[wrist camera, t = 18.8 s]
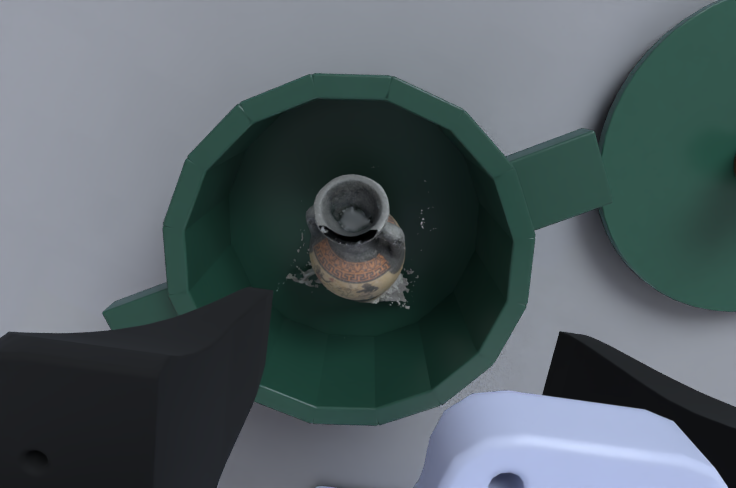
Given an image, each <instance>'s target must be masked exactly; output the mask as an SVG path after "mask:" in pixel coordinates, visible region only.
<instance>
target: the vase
mask: <svg viewBox="0 0 736 488" xmlns="http://www.w3.org/2000/svg"><path fill="white" fill-rule="evenodd" d="M432 207H433V206H432ZM428 209H429V208H428ZM421 211H422V210H421ZM306 212H307V213H306V222H307V225H308V227H309V230H310V233H311V239H310V245H309V249H308V251H309V254H310V261H311V263H310V262H308V263H309V265H311V266H312V269H308V270H307V271H306V272H303V271H301V274H303V276H304V278H301V279H302V280H297V279H298V278H296V277H295V276H296V274H294V275H295V276H292V274H290V273H289V274H288V275H287V277H286V278H288V279H293V281H295V282H299V283H305V284H306V285H308V286H310V287H312V286H314V285H311V283H312V281H313V280H310V281H309V279H308V278H309V277H310V276H312V275H314V274H316V276H317V277H318V279H317V280H316V281H315V282H316V283H322V284H323V285H324V286H325V287H326V288H327V290H329V291H331V292H332V293H334V294H336V295H338V296H340V297H343V298H346V299H349V300H353V301H357V302H367V303H373V304H374V303H375V304H377V303H378V302H379V301H397V302H398V304H399V305H400V303H399V301H403V302H406V299H405V297H404V294H403V291H406V292H407V293H408V292H409V289H407V288H406V286H407V285H408V284H409V283H408V282H407V278H403V275H404V274H401V273H400V272H401V270H402V269H403V264H404V259H405V238H404V233H403V231H402V229H401V228H400V227H399V225H398V223H397V222H396V220H395V219H394V218H393V217H392V216H391V215H390V214H389V213H390V211H389V202H388V197H387V195H386V193H385V191H384V189H383V188H382V187H381V185H379V184H378V183H377V182H375V181H374V180H372V179H370V178H368V177H365V176H361V175H354V174H348V175H342V176H339V177H336V178H334V179H333V180H331V181H330V182H328V183H327V184H326V185H325V186H324V187H323V188H322V189H321V190H320V191H319V193H318V194H317V196H316V197H315V200H314V205H313V206H311V207H310V208H309V209H308V210H307V211H306ZM421 214H422V213H421ZM419 218H420V217H419ZM422 220H424V218H422ZM421 224H422V222H421ZM422 228H423V226H422ZM433 229H434V228H433ZM435 229H436V228H435ZM430 231H431V230H430ZM302 240H303V233H302V239H301V241H302ZM303 246H304V244H303ZM300 248H301V247H300ZM421 251H422V250H421ZM297 252H298V253H299V249H298V250H297ZM307 253H308V252H307ZM295 260H296V259H294V261H295ZM295 262H296V261H295ZM293 263H294V262H293ZM306 266H307V264H306ZM296 267H297V268H298V266H296ZM298 270H301V269H300V267H299V269H298ZM410 270H411V269H410ZM404 271H405V268H404ZM408 271H409V270H406V272H407V274H412V273H413V272H414V271H409V272H410V273H409V272H408ZM416 278H418V275H417V277H416ZM286 280H287V279H286ZM414 282H415V281H414ZM411 283H412V282H411ZM413 286H414V285H413ZM315 287H317V288H318V285H316V284H315ZM276 291H278V290H276ZM407 302H408V301H407ZM392 303H393V302H392ZM390 305H391V304H390ZM404 305H405V303H404ZM404 305H402V307H404ZM391 306H392V305H391ZM405 308H406V309H410V306H405ZM344 338H345V337H344Z"/></svg>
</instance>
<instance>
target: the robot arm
mask: <svg viewBox="0 0 736 488" xmlns="http://www.w3.org/2000/svg"><path fill="white" fill-rule="evenodd" d="M272 299H273V290H267V289H260V288H253V287H246V288H243V289H241V290H238V291H236V292H234V293H232V294H230V295H228V296H225V297H223V298H221V299H219V300H217V301H214V302H212V303H210V304H208V305H205V306H203V307H200V308H198V309H195V310H192V311H190V312H187V313H185V314H182V315H179V316H176V317H173V318H169V319H166V320H162V321H158V322H154V323H150V324H146V325H141V326H134V327H128V328H122V329H116V330H109V331H98V332H85V333H21V332H8V333H7V334H5V335H4V336H2V337H1V338H0V488H217V485H218V481H219V479H220V476H221V474H222V471H223V469H224V466H225V464H226V462H227V459H228V457H229V455H230V453H231V451H232V448H233V446H234V444H235V442H236V440H237V438H238V435H239V433H240V431H241V429H242V427H243V424H244V422H245V420H246V418H247V416H248V413H249V411H250V409H251V407H252V405H253V402H254V400H255V398H256V395H257V392H258V388H259V385H260V382H261V378H262V374H263V371H264V367H265V362H266V353H267V344H268V335H269V326H270V317H271V308H272ZM315 488H335V487H328V486H317V487H315ZM413 488H736V407H734V406H732V405H729V404H727V403H724V402H722V401H720V400H717V399H715V398H712V397H710V396H707V395H705V394H703V393H701V392H699V391H696V390H694V389H692V388H690V387H688V386H686V385H684V384H682V383H680V382H678V381H676V380H674V379H672V378H670V377H668V376H666V375H664V374H662V373H660V372H658V371H656V370H654V369H652V368H650V367H648V366H647V365H645V364H643V363H641V362H639V361H637V360H635V359H634V358H632V357H630V356H628V355H626V354H624V353H623V352H621V351H619V350H617V349H615V348H613V347H611V346H609V345H607V344H605V343H603V342H601V341H599V340H597V339H594V338H592V337H589V336H586V335H581V334H574V333H567V332H559V336H558V339H557V343H556V347H555V350H554V354H553V358H552V361H551V365H550V369H549V372H548V376H547V380H546V383H545V387H544V391H543V394H542V395H537V394H530V393H523V392H516V391H508V390H503V391H492V392H482V393H472V394H471V395H469V396H467V397H466V398H464V399H463V400H461V401H459V402H458V403H456V404H454V405H453V406H451V407H450V408H448V409H446V410H445V411H444V412H443V414H442V416H441V418H440V420H439V422H438V423H437V425H436V427H435V429H434V431H433V433H432V434H431V436H430V440H429V444H428V449H427V454H426V458H425V463H424V468H423V470H422V473H421V475H420V478H419V481H418V482H417V483H416V485H415V486H414V487H413Z"/></svg>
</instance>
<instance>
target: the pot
mask: <svg viewBox="0 0 736 488" xmlns="http://www.w3.org/2000/svg"><path fill="white" fill-rule="evenodd" d="M348 174H354V175H361V176H365V177H368V178H370V179H372V180H374V181H375V182H377V183H378V184H379V185H381V187H382V188H383V189H384V191H385V193H386V195H387V197H388V202H389V211H390V213H389V214H390V215H391V216H392V217H393V218H394V219H395V220H396V222H397V223H398V225H399V227H400V228H401V229H402V231H403V233H404V238H405V259H404V264H403V269H402V270H401V272H400V273H401V274H404V275H403V278H407V282H408V283H409V284H408V285H407V286H406V288H407V289H409V292H408V293H407V292H406V291H403V294H404V297H405V299H406V302H403V301H399V303H400V305H399V304H398V302H397V301H379V302H378V303H377V304H375V303H374V304H373V303H367V302H357V301H353V300H349V299H346V298H343V297H340V296H338V295H336V294H334V293H332V292H331V291H329V290H327V288H326V287H325V286H324V285H323V284H322V283H316V282H315V281H316V280H317V279H318V277H317V276H316V274H314V275H312V276H310V277H309V278H308V279H309V281H310V280H313V281H312V283H311V285H314V286H312V287H310V286H308V285H306V284H305V283H299V282H295V281H293V279H288V278H286V277H287V275H288V274H289V273H290V274H292V276H295V275H294V274H296V276H295V277H296V278H298V279H297V280H302V279H301V278H304V276H303V274H301V271H303V272H306V271H307V270H308V269H312V266H311V265H309V263H308V262H310V263H311V261H310V254H309V251H308V249H309V245H310V239H311V233H310V230H309V227H308V225H307V222H306V213H307V212H306V211H307V210H308V209H309V208H310V207H311V206H313V205H314V200H315V197H316V196H317V194H318V193H319V191H320V190H321V189H322V188H323V187H324V186H325V185H326V184H327V183H328V182H330V181H331V180H333V179H334V178H336V177H339V176H342V175H348ZM612 202H613V200H612V196H611V192H610V188H609V184H608V180H607V177H606V173H605V169H604V165H603V161H602V157H601V154H600V150H599V146H598V142H597V138H596V134H595V132H594V131H593V130H588V129H584V128H581V129H578V130H576V131H573V132H570V133H568V134H565V135H562V136H560V137H557V138H554V139H551V140H549V141H546V142H543V143H541V144H538V145H535V146H533V147H530V148H527V149H524V150H522V151H519V152H516V153H514V154H511V155H508V156H506V157H505V156H504V154H503V153H502V152H501V151H500V150H499V149H498V148H497V146H496V145H495V144H494V143H493V142H492V141H491V140H490V138H489V137H488V136H487V135H486V134H485V133H484V132H483V130H482V129H481V128H480V127H479V126H478V125H477V123H476V122H475V121H474V120H473V119H472V118H471V117H470V115H469V114H468V113H467V112H466V111H464V110H463V109H462V108H460V107H458V106H456V105H454V104H452V103H450V102H447V101H445V100H443V99H441V98H439V97H437V96H435V95H433V94H430V93H428V92H426V91H424V90H422V89H420V88H418V87H416V86H413V85H411V84H409V83H407V82H405V81H403V80H401V79H399V78H396V77H394V76H392V77H391V76H389V75H356V74H322V73H314V74H313V75H312V74H309V75H306V76H304V77H301V78H299V79H296V80H294V81H291V82H289V83H286V84H284V85H281V86H279V87H276V88H274V89H271V90H269V91H267V92H264V93H262V94H259V95H257V96H254V97H252V98H249V99H247V100H244V101H242V102H241V103H240V104H237V105H236V106H235V107H234V108H233V109H232V110H231V111H230V112H229V113H228V114H227V115H226V116H225V117H224V118H223V120H222V121H221V122H220V123H219V124H218V125H217V126H216V127H215V128H214V129H213V130H212V131H211V132H210V133H209V134H208V135H207V136H206V137H205V138H204V139H203V140H202V141H201V142H200V143H199V145H198V146H197V147H196V148H195V149H194V150H193V151H192V152H191V153H190V154H189V155H188V157H187V159H186V160H185V162H184V165H183V168H182V171H181V174H180V177H179V179H178V182H177V185H176V188H175V191H174V194H173V196H172V199H171V202H170V205H169V208H168V211H167V213H166V216H165V219H164V222H163V225H164V226H163V240H164V253H165V265H166V278H167V282H166V283H163V284H160V285H158V286H155V287H152V288H150V289H147V290H144V291H141V292H139V293H136V294H133V295H131V296H128V297H125V298H123V299H120V300H117V301H115V302H114V303H112V304H111V305H110V306H109V307H108V308H107V309H106V310H104V311H103V312H102V314H103V316H104V318H105V319H106V321H107V323H108V325H109V327H110V328H111V330H116V329H122V328H128V327H134V326H141V325H146V324H150V323H154V322H158V321H162V320H166V319H169V318H173V317H176V316H179V315H182V314H185V313H187V312H190V311H192V310H195V309H198V308H200V307H203V306H205V305H208V304H210V303H212V302H214V301H217V300H219V299H221V298H223V297H225V296H228V295H230V294H232V293H234V292H236V291H238V290H241V289H243V288H246V287H253V288H260V289H267V290H273V299H272V308H271V317H270V326H269V335H268V344H267V353H266V362H265V367H264V371H263V374H262V378H261V382H260V385H259V388H258V392H257V395H256V398H255V400H254V402H256V403H259V404H262V405H264V406H267V407H269V408H272V409H274V410H277V411H280V412H282V413H285V414H287V415H290V416H293V417H295V418H298V419H300V420H303V421H306V422H308V423H312V422H313V424H334V425H369V426H377V425H378V424H379V425H382V424H385V423H388V422H392V421H395V420H398V419H401V418H404V417H407V416H410V415H413V414H416V413H419V412H422V411H425V410H429V409H432V408H435V407H438V406H440V405H443V404H444V403H446V402H447V401H448V400H449V399H451V398H452V397H453V396H454V395H456V394H457V393H458V392H459V391H461V390H462V389H463V388H464V387H466V386H467V385H468V384H470V383H471V382H472V381H473V380H475V379H476V378H477V377H478V376H480V375H481V374H482V373H483V372H485V371H486V370H487V369H488V368H490V367H491V366H492V365H493V363H494V362H495V361H496V359H497V357H498V356H499V354H500V352H501V350H502V349H503V347H504V345H505V343H506V342H507V340H508V338H509V336H510V335H511V333H512V331H513V330H514V328H515V326H516V324H517V323H518V321H519V319H520V317H521V316H522V314H523V312H524V310H525V309H526V305H527V303H528V295H529V287H530V279H531V270H532V262H533V254H534V245H535V232H534V230H537V229H540V228H543V227H546V226H549V225H551V224H554V223H557V222H560V221H563V220H566V219H568V218H571V217H574V216H577V215H580V214H583V213H585V212H588V211H591V210H594V209H597V208H599V207H602V206H605V205H608V204H611V203H612ZM432 206H433V207H432ZM428 208H429V209H428ZM421 210H422V211H421ZM421 213H422V214H421ZM419 217H420V218H419ZM422 218H424V220H422ZM421 222H422V224H421ZM422 226H423V228H422ZM433 228H434V229H433ZM435 228H436V229H435ZM430 230H431V231H430ZM302 233H303V240H302V241H301V239H302ZM303 244H304V246H303ZM300 247H301V248H300ZM298 249H299V253H298V252H297V250H298ZM421 250H422V251H421ZM307 252H308V253H307ZM294 259H296V260H295V261H296V262H295V261H294ZM293 262H294V263H293ZM306 264H307V266H306ZM296 266H298V268H297V267H296ZM299 267H300V269H301V270H298V269H299ZM404 268H405V271H404ZM410 269H411V270H410ZM406 270H409V271H414V272H413V273H412V274H407V272H406ZM409 271H408V272H409ZM409 273H410V272H409ZM417 275H418V278H416V277H417ZM286 279H287V280H286ZM414 281H415V282H414ZM411 282H412V283H411ZM315 284H316V285H318V288H317V287H315ZM413 285H414V286H413ZM276 290H278V291H276ZM407 301H408V302H407ZM392 302H393V303H392ZM404 303H405V305H404ZM390 304H391V305H392V306H391V305H390ZM402 305H404V307H402ZM405 306H410V309H406V308H405ZM344 337H345V338H344Z"/></svg>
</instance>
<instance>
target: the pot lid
mask: <svg viewBox="0 0 736 488" xmlns="http://www.w3.org/2000/svg"><path fill="white" fill-rule="evenodd" d="M599 150H600V154H601V157H602V161H603V165H604V169H605V173H606V177H607V180H608V184H609V188H610V192H611V196H612V200H613V202H612V203H611V204H608V205H605V206H602V207H599V213H600V217H601V220H602V223H603V225H604V228H605V231H606V234H607V236H608V237H609V239H610V241H611V243H612V245H613V247H614V249H615V250H616V252H617V253H618V254H619V256H620V257H621V259H622V260H623V261H624V263H625V264H626V265H627V266H628V267H629V268H630V269H631V270H632V271H633V272H634V273H635V274H636V275H637V276H638V277H639V278H641V279H642V280H643V281H645V282H646V283H647V284H649V285H650V286H651V287H653V288H654V289H656V290H657V291H659V292H660V293H662V294H664V295H666V296H668V297H670V298H672V299H674V300H676V301H679V302H682V303H684V304H687V305H690V306H694V307H698V308H703V309H707V310H715V311H726V312H736V0H718V1H716V2H714V3H711V4H709V5H707V6H705V7H703V8H702V9H700V10H698V11H697V12H695V13H693V14H692V15H690V16H689V17H687V18H685V19H684V20H682V21H681V22H680V23H679V24H677V25H676V26H675V27H674V28H672V29H671V30H670V31H668V32H667V33H666V34H665V35H664V36H663V37H661V38H660V39H659V40H658V41H657V42H656V43H655V44H654V45H653V46H652V47H651V48H650V49H649V50H648V51H647V52H646V54H645V55H644V56H643V57H642V58H641V60H640V61H639V62H638V63H637V65H636V66H635V67H634V68H633V70H632V71H631V72H630V74H629V76H628V77H627V79H626V80H625V82H624V83H623V85H622V87H621V88H620V90H619V91H618V93H617V95H616V98H615V100H614V102H613V104H612V106H611V108H610V110H609V112H608V115H607V118H606V121H605V124H604V127H603V129H602V132H601V137H600V141H599Z"/></svg>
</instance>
